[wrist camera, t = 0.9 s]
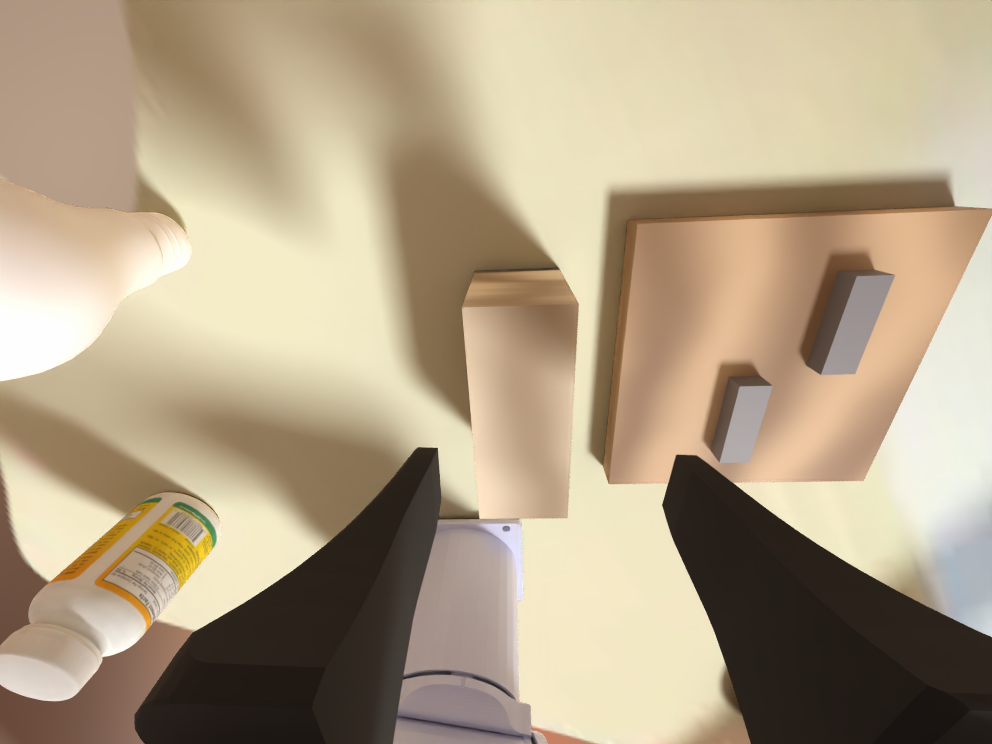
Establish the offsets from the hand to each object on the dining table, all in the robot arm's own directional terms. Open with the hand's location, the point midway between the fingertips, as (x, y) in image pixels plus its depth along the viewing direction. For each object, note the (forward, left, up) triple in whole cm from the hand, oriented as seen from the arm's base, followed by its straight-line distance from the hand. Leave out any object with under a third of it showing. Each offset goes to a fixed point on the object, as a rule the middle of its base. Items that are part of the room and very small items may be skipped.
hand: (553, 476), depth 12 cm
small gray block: (+10, -3, -8) cm, 13 cm away
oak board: (+11, -1, -10) cm, 15 cm away
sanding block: (-1, -1, -10) cm, 10 cm away
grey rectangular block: (+14, +2, -8) cm, 16 cm away
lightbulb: (-17, +6, -10) cm, 20 cm away
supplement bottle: (-24, -12, -10) cm, 28 cm away
